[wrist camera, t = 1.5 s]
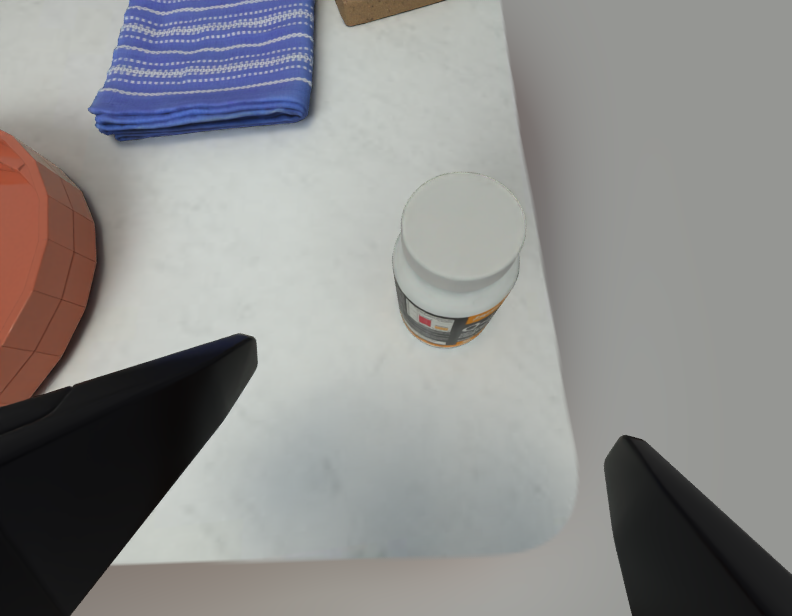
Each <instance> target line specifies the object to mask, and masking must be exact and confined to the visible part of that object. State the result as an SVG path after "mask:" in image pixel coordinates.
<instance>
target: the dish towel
mask: <svg viewBox="0 0 792 616" xmlns="http://www.w3.org/2000/svg"><path fill="white" fill-rule="evenodd" d="M314 5H315V0H130V1H129V7H128V8H127V10H126V13H125V14H124V25H123V26H122V28H121V29H120V35H119V38H118V45H117V47H116V48H115V49H114V52H113V61H112V65H111V67H110V69H109V70H108V72H107V79H106V81H105V84H104V87H103V88H102V89H100V90H99V91H98V93H97V96H96V97H95V99H94V101H93V103H92V105H91V106H90V107H89V108H88V111H90V112H91V113H92V114H95V115H96V117H95V121H96V124H95V126H96V127H97V128H98V129H99V132H101V133H103V134H106V135H111V134H114V135H115V139H116V140H118V141H126V140H133V139H142V138H147V137H156V136H165V135H176V134H185V133H193V132H201V131H210V130H219V129H228V128H239V127H251V126H260V125H272V124H283V123H294V122H298V121H300V120H302V119H304V118H305V117H306V116H307V115H308V110H309V102H310V93H311V89H312V71H313V57H314V54H313V46H314V41H313V34H314V30H313V28H314Z"/></svg>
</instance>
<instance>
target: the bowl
mask: <svg viewBox="0 0 792 616" xmlns="http://www.w3.org/2000/svg"><path fill="white" fill-rule="evenodd" d="M96 262H97V257H96V236H95V224H94V220H93V218H92V215H91V213H90V210H89V208H88V205H87V203H86V200H85V198H84V196H83V193H82V191H81V190H80V189H79V188H78V187H77V186H76V185H75V184H74V183H73V182H72V181H71V180H70V179H69V178H68V177H67V175H66V174H65V173H64V172H63V171H62V170H61V169H60V168H58V167H57V166H56V165H54V164H53V163H51V162H50V161H48V160H47V159H46V158H44V157H43V156H41V155H40V154H38V153H37V152H35V151H34V150H33V149H31V148H30V147H28V146H27V145H25V144H24V143H23V142H21V141H20V140H18V139H17V138H15V137H14V136H12V135H11V134H9V133H6V132H4V131H2V130H0V407H2V406H5V405H9V404H13V403H16V402H19V401H23V400H26V399H29V398H30V397H31V396H32V395H33V393H34V392H35V391H36V390H37V388H38V387H39V386H40V384H41V383H42V382H43V381H44V379H45V378H46V377H47V375H48V374H49V373H50V372H51V370H52V369H53V368H54V366H55V365H56V364H57V363H58V361H59V360H60V359H61V357H62V355H63V354H64V351H65V349H66V347H67V345H68V343H69V341H70V339H71V337H72V335H73V333H74V331H75V329H76V327H77V325H78V323H79V321H80V319H81V317H82V315H83V313H84V311H85V309H86V306H87V302H88V298H89V293H90V289H91V285H92V281H93V276H94V272H95V268H96Z"/></svg>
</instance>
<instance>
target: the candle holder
mask: <svg viewBox="0 0 792 616" xmlns="http://www.w3.org/2000/svg"><path fill="white" fill-rule="evenodd" d="M335 1H336V4H337V6H338V9H339V11H340V14H341V16H342V18H343V20H344V22H345V24H346V25H347V26H353V25H358V24H362V23H366V22H370V21H373V20H377V19H380V18H384V17H387V16H391V15H394V14H398V13H401V12H405V11H408V10H412V9H415V8H419V7H422V6H426V5H429V4H433V3H436V2H440V1H443V0H335Z"/></svg>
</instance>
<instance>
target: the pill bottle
mask: <svg viewBox="0 0 792 616" xmlns="http://www.w3.org/2000/svg"><path fill="white" fill-rule="evenodd" d="M525 235H526V221H525V216H524V212H523V210H522V207H521V205H520V203H519V202H518V200H517V199H516V197H515V196H514V195H513V194H512V192H511V191H510V190H509V189H507V188H506V187H505V186H504V185H502V184H501V183H499V182H498V181H496V180H494V179H492V178H490V177H488V176H484V175H481V174H477V173H470V172H453V173H447V174H443V175H440V176H437V177H435V178H433V179H431V180H429V181H427V182H426V183H424V184H423V185H421V186H420V187H419V188H418V189H417V190H416V191H415V192H414V193H413V194H412V195H411V197H410V198H409V200H408V201H407V203H406V205H405V208H404V210H403V214H402V219H401V232H400V234H399V236H398V238H397V241H396V243H395V247H394V251H393V256H392V263H393V272H394V278H395V284H396V291H397V296H398V302H399V309H400V313H401V316H402V319H403V321H404V323H405V325H406V327H407V328H408V330H409V331H410V332H411V333H412V334H413V335H414V336H415V337H416V338H417V339H419V340H420V341H422V342H424V343H426V344H428V345H431V346H434V347H439V348H453V347H457V346H461V345H463V344H466V343H468V342H470V341H471V340H473V339H474V338H475V337H477V336H478V335H479V334H480V333H481V332H482V330H483V329H484V328H485V326H486V325H487V324H488V322H489V321H490V319H491V318H492V316H493V315H494V314H495V312H496V311H497V310H498V308H499V307H500V306H501V304H502V303H503V301H504V300H505V298H506V297H507V296H508V294H509V293H510V291H511V290H512V288H513V287H514V285H515V282H516V280H517V277H518V274H519V265H520V256H519V253H520V251H521V249H522V246H523V244H524V240H525Z"/></svg>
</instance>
